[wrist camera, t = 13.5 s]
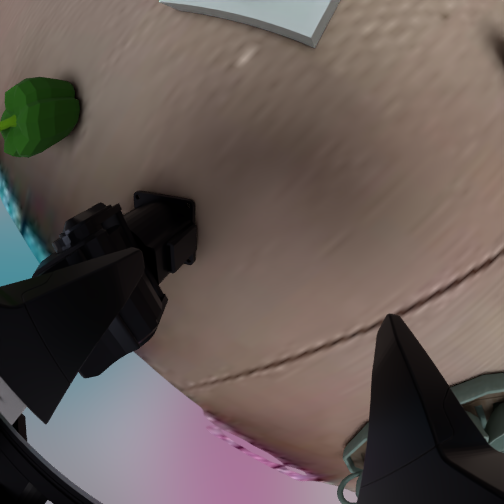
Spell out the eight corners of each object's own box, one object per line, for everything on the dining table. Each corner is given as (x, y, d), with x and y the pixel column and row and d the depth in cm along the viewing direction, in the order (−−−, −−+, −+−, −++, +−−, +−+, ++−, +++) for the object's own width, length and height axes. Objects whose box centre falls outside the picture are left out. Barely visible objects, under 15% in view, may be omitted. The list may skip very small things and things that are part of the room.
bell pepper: (92, 68, 19) (8, 76, 11) (89, 143, 24) (10, 172, 15) (50, 78, 21) (-19, 92, 12) (49, 141, 25) (-16, 167, 17)
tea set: (536, 416, 23) (544, 475, 10) (391, 476, 45) (382, 530, 31) (544, 316, 17) (587, 425, 3) (300, 427, 38) (275, 515, 24)
